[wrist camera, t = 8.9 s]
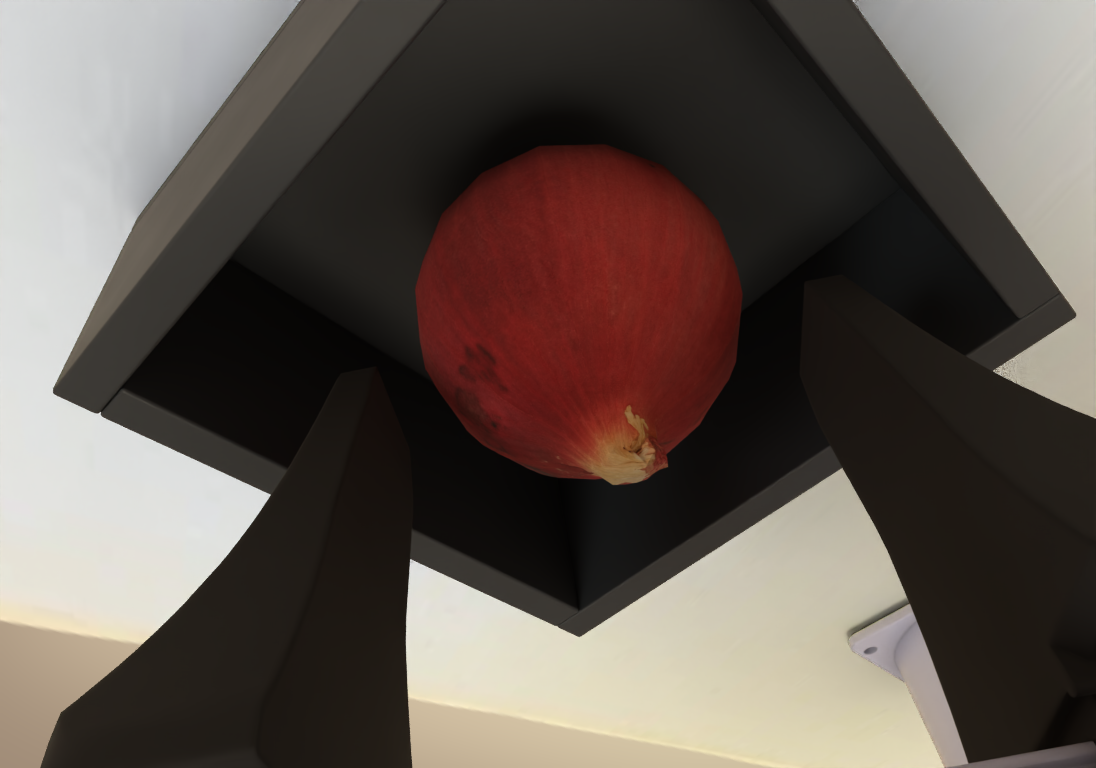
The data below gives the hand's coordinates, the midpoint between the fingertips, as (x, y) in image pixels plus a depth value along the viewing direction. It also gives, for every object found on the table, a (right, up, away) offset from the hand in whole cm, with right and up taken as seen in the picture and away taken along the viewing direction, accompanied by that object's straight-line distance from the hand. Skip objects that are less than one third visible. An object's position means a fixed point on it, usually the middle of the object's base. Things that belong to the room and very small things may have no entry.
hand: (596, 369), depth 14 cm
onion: (-1, +4, +4) cm, 6 cm away
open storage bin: (-1, +4, +4) cm, 6 cm away
